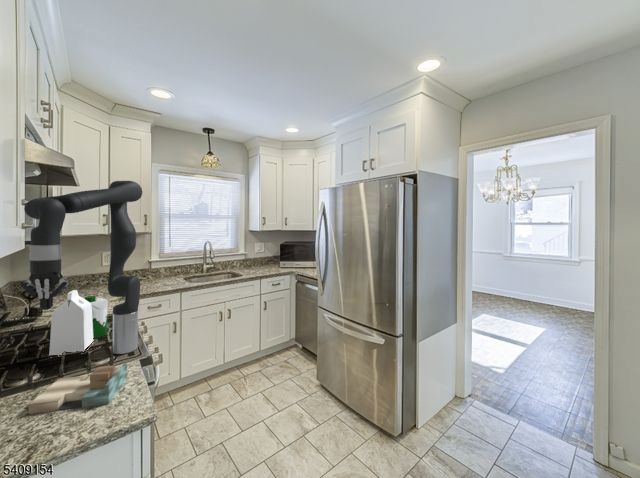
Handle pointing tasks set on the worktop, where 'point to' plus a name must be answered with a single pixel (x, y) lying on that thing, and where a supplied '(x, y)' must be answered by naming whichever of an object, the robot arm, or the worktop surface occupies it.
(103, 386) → the block
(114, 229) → the robot arm
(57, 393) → the pixelated toy pickaxe
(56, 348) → the milk
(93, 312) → the milk carton
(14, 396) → the worktop surface
